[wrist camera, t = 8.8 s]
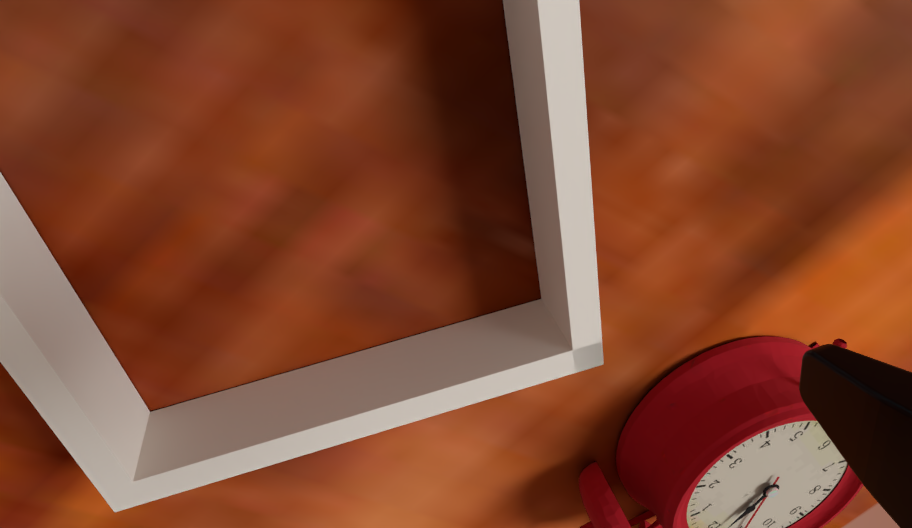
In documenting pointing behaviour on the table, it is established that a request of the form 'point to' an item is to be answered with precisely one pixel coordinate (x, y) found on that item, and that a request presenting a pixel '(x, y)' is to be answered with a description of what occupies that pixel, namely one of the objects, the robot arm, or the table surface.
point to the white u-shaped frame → (344, 378)
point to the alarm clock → (726, 448)
